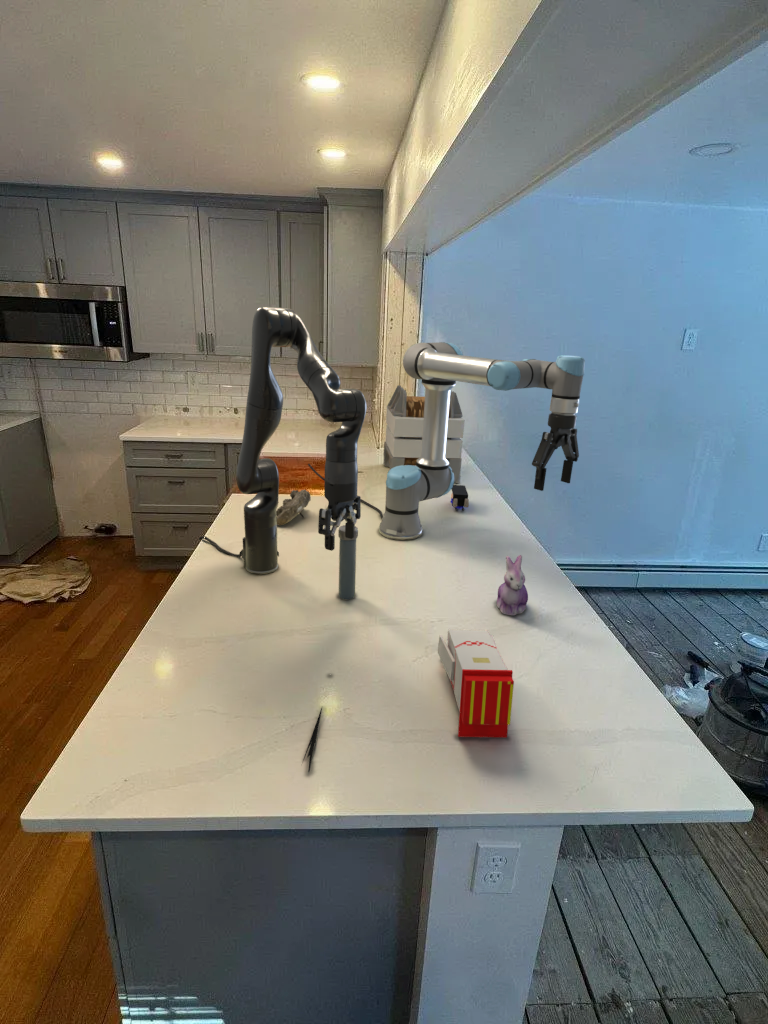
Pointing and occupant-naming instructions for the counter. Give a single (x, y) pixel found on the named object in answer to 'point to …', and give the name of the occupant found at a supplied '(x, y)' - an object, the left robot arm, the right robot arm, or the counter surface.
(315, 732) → the feather
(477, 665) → the toy
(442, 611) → the counter surface
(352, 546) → the bottle
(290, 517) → the fossil
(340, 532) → the lid
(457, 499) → the figurine character
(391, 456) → the white wooden crate
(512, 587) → the figurine
